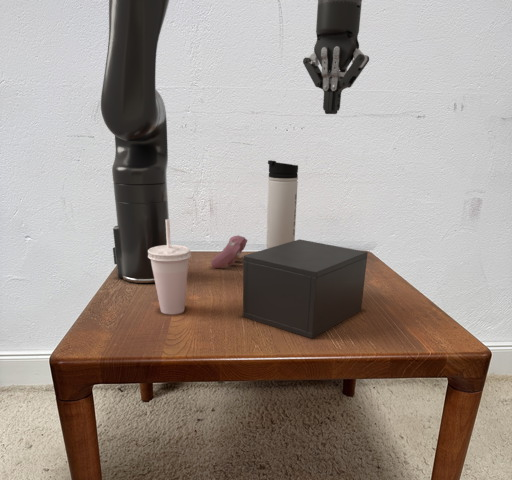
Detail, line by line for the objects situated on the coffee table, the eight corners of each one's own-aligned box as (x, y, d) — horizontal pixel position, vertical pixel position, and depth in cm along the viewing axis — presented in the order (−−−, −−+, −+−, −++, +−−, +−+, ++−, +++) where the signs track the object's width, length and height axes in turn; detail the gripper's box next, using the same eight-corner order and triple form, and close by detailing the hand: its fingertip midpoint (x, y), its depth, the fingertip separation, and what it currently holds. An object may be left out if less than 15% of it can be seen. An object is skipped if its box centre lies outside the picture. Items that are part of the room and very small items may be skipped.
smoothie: (191, 302, 80) (187, 216, 75) (195, 316, 75) (191, 224, 69) (151, 304, 79) (144, 216, 73) (152, 318, 73) (145, 225, 68)
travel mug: (259, 252, 111) (261, 159, 103) (284, 249, 114) (288, 158, 106) (274, 259, 106) (277, 161, 98) (299, 256, 109) (304, 161, 101)
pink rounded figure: (228, 277, 99) (243, 247, 95) (208, 266, 98) (223, 236, 95) (239, 264, 107) (253, 237, 104) (221, 254, 107) (235, 226, 104)
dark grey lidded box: (296, 293, 85) (299, 239, 81) (361, 310, 78) (367, 251, 74) (242, 316, 75) (243, 255, 71) (312, 338, 68) (316, 272, 64)
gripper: (295, 4, 85) (290, 113, 93) (364, -6, 78) (352, 114, 85) (318, 11, 91) (312, 114, 98) (384, 3, 83) (372, 114, 90)
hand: (331, 113), depth 92 cm, fingers closed
